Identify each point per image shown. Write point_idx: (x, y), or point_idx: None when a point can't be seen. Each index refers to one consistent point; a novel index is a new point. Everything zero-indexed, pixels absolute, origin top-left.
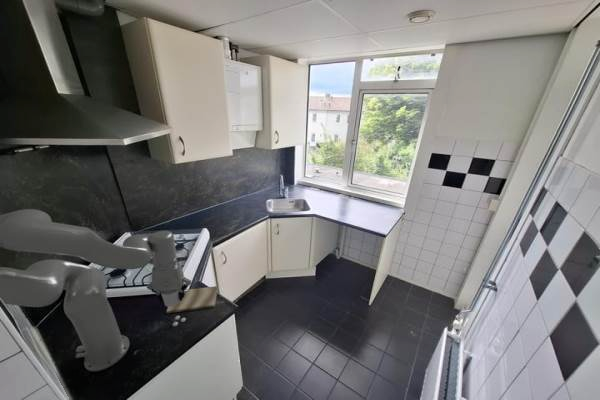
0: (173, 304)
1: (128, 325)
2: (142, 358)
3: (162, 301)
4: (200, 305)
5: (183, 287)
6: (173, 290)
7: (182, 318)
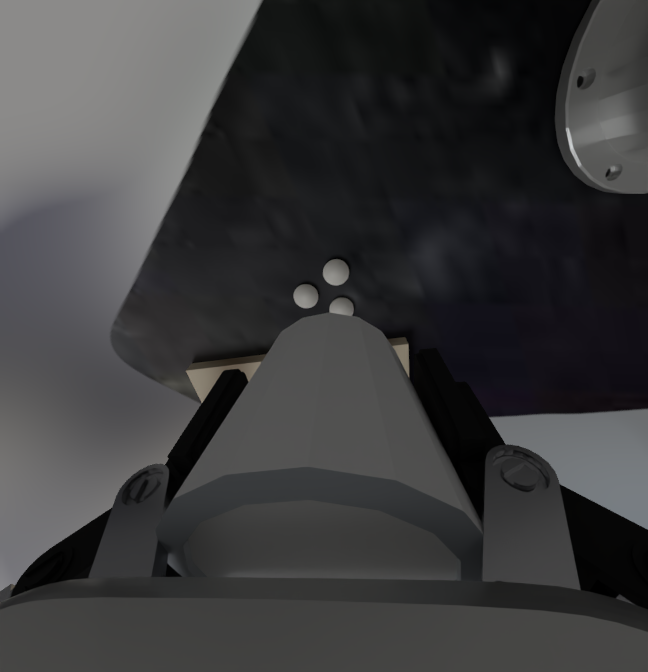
0: (290, 332)
1: (586, 271)
2: (440, 12)
3: (416, 365)
4: (251, 369)
5: (76, 572)
6: (226, 532)
7: (312, 304)
